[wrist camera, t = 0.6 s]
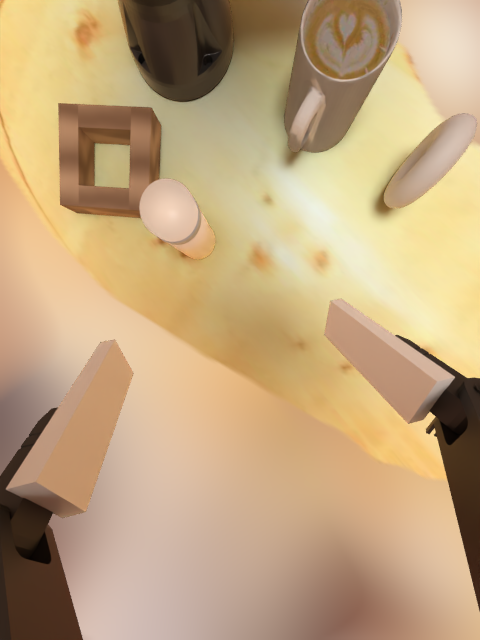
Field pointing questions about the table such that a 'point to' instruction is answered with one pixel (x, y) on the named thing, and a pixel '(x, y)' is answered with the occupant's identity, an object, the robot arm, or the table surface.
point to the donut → (430, 160)
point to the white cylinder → (176, 218)
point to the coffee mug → (337, 67)
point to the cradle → (110, 128)
